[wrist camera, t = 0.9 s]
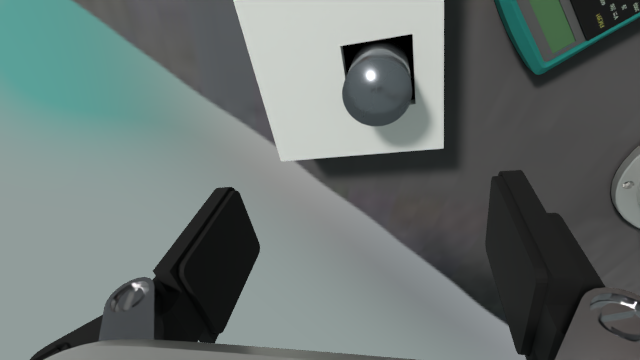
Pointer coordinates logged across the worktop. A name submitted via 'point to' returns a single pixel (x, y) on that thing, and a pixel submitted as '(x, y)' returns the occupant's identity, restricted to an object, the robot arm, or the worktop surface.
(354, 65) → the charcoal plunger
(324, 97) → the panel
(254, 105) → the worktop surface
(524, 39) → the digital multimeter
